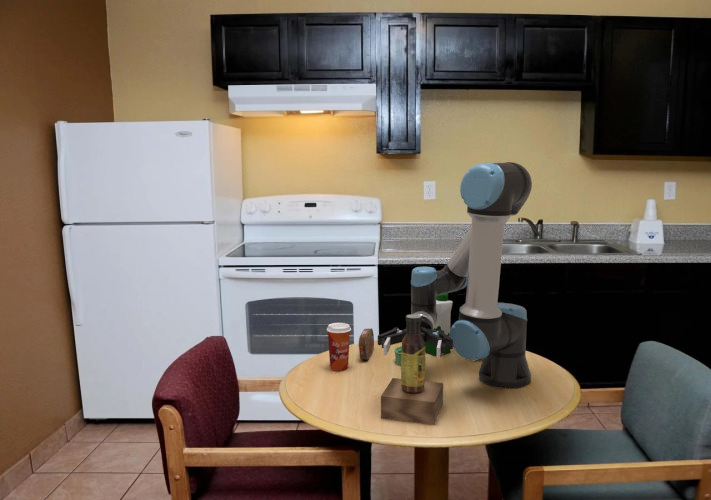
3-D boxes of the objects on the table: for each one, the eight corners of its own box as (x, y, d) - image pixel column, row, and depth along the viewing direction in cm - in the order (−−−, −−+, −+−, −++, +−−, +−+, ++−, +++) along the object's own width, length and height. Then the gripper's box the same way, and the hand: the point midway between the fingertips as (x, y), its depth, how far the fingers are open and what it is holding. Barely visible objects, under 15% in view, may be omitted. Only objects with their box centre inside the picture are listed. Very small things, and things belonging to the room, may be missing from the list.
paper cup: (333, 373, 186) (332, 330, 184) (323, 366, 193) (322, 324, 190) (355, 369, 189) (355, 326, 187) (345, 362, 196) (345, 321, 194)
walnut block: (442, 403, 163) (443, 383, 162) (434, 424, 151) (434, 402, 150) (392, 398, 167) (392, 377, 166) (380, 418, 155) (380, 396, 154)
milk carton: (454, 353, 204) (455, 295, 200) (432, 357, 200) (432, 299, 196) (439, 345, 211) (440, 290, 208) (418, 349, 207) (418, 293, 204)
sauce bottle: (422, 395, 154) (423, 320, 151) (398, 392, 156) (399, 318, 152) (426, 385, 160) (427, 313, 157) (403, 383, 162) (404, 312, 158)
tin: (367, 363, 195) (366, 338, 194) (357, 362, 196) (357, 338, 194) (374, 348, 210) (374, 325, 208) (366, 348, 210) (365, 324, 209)
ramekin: (418, 368, 190) (418, 355, 189) (391, 366, 193) (391, 352, 192) (424, 359, 198) (424, 346, 197) (398, 356, 201) (397, 344, 200)
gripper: (463, 342, 171) (460, 368, 151) (377, 338, 176) (363, 362, 156) (464, 317, 170) (461, 340, 150) (377, 313, 175) (363, 334, 155)
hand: (411, 351), depth 153 cm, fingers open, 13 cm apart
